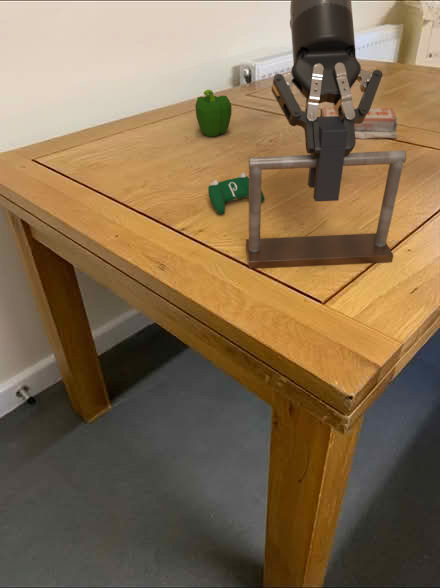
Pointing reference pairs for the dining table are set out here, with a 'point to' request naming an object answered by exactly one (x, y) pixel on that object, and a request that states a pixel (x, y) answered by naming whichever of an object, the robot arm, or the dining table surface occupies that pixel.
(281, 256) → the rail stand
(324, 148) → the clip
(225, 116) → the bell pepper
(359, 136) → the packaged product
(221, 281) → the dining table surface
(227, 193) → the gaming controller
